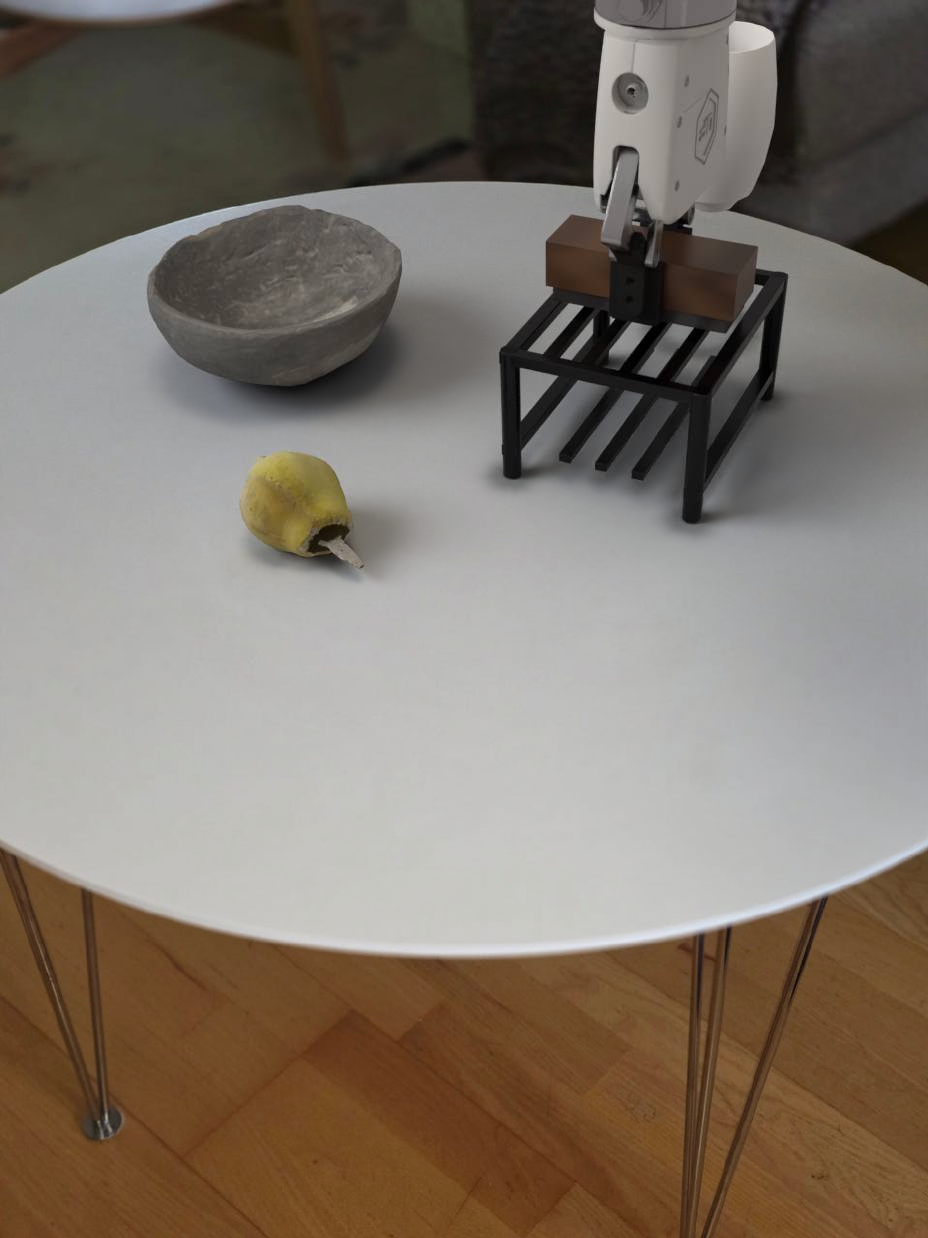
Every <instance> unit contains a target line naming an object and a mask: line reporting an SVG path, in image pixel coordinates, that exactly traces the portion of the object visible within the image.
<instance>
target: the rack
mask: <svg viewBox="0 0 928 1238" xmlns="http://www.w3.org/2000/svg"><path fill="white" fill-rule="evenodd" d="M788 283H789V273H786V272H784V271H778V270H776V271H774V270H768V269H763V268H757V267H756V272H755V282H754V286H761V289H760V291H758V294H757V295H756V296H755V298H754V300H753V301H752V303H751V304H750V306H749V307H748V309H746V311H745V313H744V314H743V315H742V317H741V319H740V320H739V322H738V323H737V325H735V328H734V329H733V330H732V332H731V334H730V335H729V336H728V338H727V340H725V342H724V344H723V345H722V347H721V348H720V350H719V351H718V352H717V354H716V355H714V354H710V355H709V357H708V358H707V360H706V361H705V363H704V364H703V365H702V367H701V369H699V371H698V373H697V374H696V376H695V377H694V379H693V381H691V383H690V384H687V383H682V382H677V380H678V378H679V377H680V375H681V374H682V373H683V371H684V369H686V367H687V365H688V364H689V363H690V361H691V360H692V358H693V357H694V356H695V354H696V352H697V351H698V350H699V348H700V346H701V345H702V344H703V342H704V341H705V340H706V338H707V337H708V335H709V334H710V333H711V331H707V330H702V329H697V328H692V330H691V331H690V332H689V333H688V335H687V337H686V338H685V339H684V340H683V342H682V343H681V345H680V346H679V348H678V347H677V348H676V349H675V351H674V352H673V353H672V355H671V357H669V359H668V361H667V362H666V363H665V365H664V366H663V367H662V369H660V371H659V373H658V374H657V375H656V377H654V376H650V375H649V376H648V375H644V374H639V372H640V371H641V369H643V367H644V366H645V364H646V363H647V362H648V360H649V359H650V358H651V356H652V355H653V353H654V352H655V350H656V347H657V346H658V344H659V343H660V342H661V341H662V339H663V338H664V336H665V335H666V334H667V333H668V331H669V330H670V328H671V327H672V326H673V324H672V323H667V322H662V321H660V322H659V323H658V325H656V326H650V328H649V330H648V331H647V332H646V333H645V335H644V336H643V338H642V339H641V340H640V341H639V343H638V344H637V345H636V346H635V348H634V349H633V350H632V351H631V353H630V354H629V355H628V357H627V358H626V360H624V362H623V363H622V364H621V366H620V367H619V368H618V369H616V368H610V367H607V365H609V363H610V351H611V350H612V348H613V347H614V346H615V344H617V342H618V341H619V339H621V337H622V335H623V334H624V333H625V332H626V331H627V330H628V329H629V327H630V326H631V324H632V323H633V322H628V321H623V320H618V319H614V320H613V321H611V316H610V315H609V311H606V310H601V309H596V308H590V307H585V306H582V307H581V309H580V310H579V311H578V312H577V313H576V315H575V316H574V317H573V318H572V319H571V321H570V322H569V323H568V324H567V325H566V326H565V327H564V328H563V330H562V331H561V332H560V333H559V335H557V337H555V339H554V340H553V341H552V342H551V344H549V346H548V347H547V348H546V349H545V351H544V352H543V353H541V352H535V351H530V348H532V346H534V344H535V343H536V342H537V340H538V339H539V338H540V337H541V336H542V335H543V334H544V333H545V331H546V330H547V329H548V328H549V327H550V325H552V323H554V321H555V320H556V319H557V318H558V317H559V315H560V314H561V313H562V312H563V311H564V310H565V309H566V307H567V306H568V305H570V303H565V302H560V301H555V300H553V292H552V293H551V294H550V295H549V297H548V298H547V299H546V300H545V301H544V302H543V303H542V304H541V305H540V306H539V308H538V309H537V310H535V312H534V313H533V314H532V315H531V316H530V318H529V319H527V321H526V322H525V323H524V324H523V325H522V326H521V327H520V329H519V330H518V331H517V332H516V333H515V334H514V335H513V336H512V337H511V338H510V339H509V341H508V342H507V343H506V344H505V345H503V346H502V347H500V348H499V351H498V363H499V376H500V377H499V378H500V409H501V410H500V411H501V412H500V413H501V456H502V475H503V477H504V478H506V479H509V480H514V479H518V478H520V477H521V476H522V474H523V472H522V471H523V464H522V457H523V456H522V451H523V450H524V449H525V448H526V446H527V445H528V444H529V442H530V441H532V439H533V437H534V436H535V435H536V434H537V433H538V431H539V430H540V429H541V427H542V426H543V425H544V424H545V423H546V421H547V420H548V419H549V417H550V416H551V415H552V414H553V413H554V412H555V410H556V409H557V408H558V406H559V405H560V403H562V401H563V400H564V399H565V398H566V397H567V395H568V393H570V391H571V390H573V388H574V386H575V385H576V384H577V383H578V381H579V382H584V383H588V384H592V385H597V386H602V387H607V390H606V391H605V392H604V393H603V395H602V396H601V398H600V399H599V400H598V402H597V403H596V404H595V405H594V406H593V408H592V409H591V411H590V412H589V413H588V414H587V416H586V417H585V419H584V420H583V421H582V422H581V424H580V425H579V426H578V428H576V430H575V432H574V433H573V434H572V435H571V437H570V438H569V440H568V441H567V442H566V444H564V446H563V448H562V449H561V450H560V451H559V453H558V462H560V463H564V464H570V465H571V464H572V462H573V461H574V460H575V459H576V457H577V456H578V455H579V453H580V452H581V450H582V449H583V448H584V446H585V445H586V443H587V442H588V441H589V439H590V438H591V437H592V435H593V434H594V433H595V432H596V431H597V430H598V427H599V426H600V425H601V423H602V422H603V421H604V420H605V418H606V417H607V415H608V414H609V412H610V411H611V410H612V408H613V407H614V406H615V405H616V403H617V402H618V401H619V400H620V398H621V397H622V395H623V394H624V393H625V391H626V392H630V393H635V394H640V395H642V396H641V398H639V400H638V402H637V403H636V405H635V406H634V407H633V409H632V410H631V411H630V413H629V414H628V416H627V417H626V419H624V421H623V422H622V423H621V425H620V427H619V428H618V429H617V431H616V432H615V434H614V435H613V436H612V438H611V439H610V440H609V442H608V443H607V444H606V446H605V447H604V449H603V450H602V452H601V453H600V455H599V456H598V457H597V458H596V460H595V461H594V470H595V471H599V472H603V473H607V472H608V470H609V469H610V468H611V466H612V465H613V464H614V462H615V461H616V459H617V458H618V457H619V455H620V454H621V452H622V451H623V450H624V448H625V447H626V446H627V444H628V442H629V441H630V439H631V438H632V437H633V435H635V432H636V431H637V430H638V428H640V426H641V424H642V423H643V421H644V420H645V418H646V417H647V416H648V414H649V413H650V411H651V410H652V408H653V407H654V406H655V404H656V403H657V401H658V400H659V399H662V400H667V401H673V402H677V403H676V405H675V406H674V408H673V410H672V411H671V413H670V414H669V415H668V417H667V418H666V420H665V421H664V422H663V425H662V426H661V427H660V429H659V430H658V431H657V433H656V434H655V435H654V437H653V439H652V440H651V441H650V443H649V445H648V446H647V448H646V449H645V450H644V452H643V453H642V455H641V456H640V458H639V459H638V460H637V462H636V463H635V464H634V466H633V468H632V469H631V473H630V474H631V475H630V479H632V480H636V481H638V482H639V481H640V482H644V481H645V479H646V477H648V475H649V473H650V471H651V470H652V468H653V467H654V466H655V464H656V463H657V461H658V460H659V458H660V456H662V454H663V452H664V451H665V449H666V448H667V446H668V445H669V443H670V442H671V441H672V439H673V437H674V436H675V434H676V433H677V431H678V430H679V428H680V427H681V425H682V424H683V423H684V421H685V419H686V417H688V414H689V417H688V429H687V440H686V453H685V465H684V466H685V467H684V480H683V489H682V490H683V492H682V502H681V503H682V504H681V519H682V521H683V522H685V523H687V524H696V523H699V522H700V521H701V520H702V516H703V505H704V504H703V503H704V494H705V492H706V491H707V489H708V487H709V486H710V484H711V482H712V481H713V479H714V478H715V476H716V474H717V473H718V471H719V469H720V467H721V466H722V464H723V463H724V461H725V459H726V458H727V456H728V454H729V453H730V451H731V450H732V447H733V446H734V444H735V443H736V441H737V440H738V438H739V436H740V435H741V432H742V431H743V429H744V428H745V426H746V425H747V424H748V422H749V419H750V418H751V417H752V414H753V413H754V411H755V410H756V407H757V406H758V404H759V403H760V401H762V402H769V401H771V400H773V399H774V395H775V387H776V380H777V372H778V371H777V370H778V363H779V356H780V346H781V340H782V331H783V323H784V314H785V308H786V300H787V299H786V298H787V291H788ZM590 323H592V334H591V336H590V337H589V338H588V339H587V341H585V343H584V344H582V347H580V349H579V350H578V351H577V352H576V354H575V355H574V356H573V358H572V359H568V358H564V357H563V355H564V354H565V353H566V352H567V351H568V349H569V348H570V347H571V346H572V345H573V344H574V342H575V341H576V340H577V338H578V337H579V336H580V335H581V334H582V333H583V331H584V330H585V329H586V328H587V326H588V325H589V324H590ZM762 324H763V326H762V333H761V334H762V335H761V344H760V353H759V361H758V369H757V371H756V372H755V373H754V375H753V376H752V378H751V380H750V382H749V383H748V385H747V386H746V388H745V389H744V391H743V393H742V394H741V396H740V398H739V399H738V400H737V402H736V404H735V406H734V407H733V409H732V410H731V411H730V413H729V415H728V417H727V418H726V420H725V421H724V423H723V425H722V426H721V428H720V429H719V431H718V432H717V434H716V436H715V438H714V439H713V441H712V442H711V444H710V445H709V437H710V436H709V435H710V427H711V415H712V405H713V404H712V403H713V399H714V397H715V396H716V394H717V392H718V390H720V388H721V386H722V385H723V383H724V382H725V380H726V379H727V377H728V376H729V374H730V373H731V371H732V369H734V367H735V365H736V364H737V362H738V360H739V359H740V357H741V356H742V354H743V352H744V351H745V350H746V348H747V347H748V345H749V344H750V342H751V340H752V339H753V337H754V336H755V334H756V333H757V331H758V330H759V328H760V327H761V325H762ZM521 369H523V370H529V371H533V372H538V373H542V374H547V375H552V376H557V377H556V378H555V379H554V380H553V382H552V383H551V384H550V385H549V386H548V388H547V389H546V390H545V391H544V392H543V394H542V395H541V396H540V397H539V398H538V400H537V401H536V402H535V403H534V405H532V407H531V408H530V409H529V411H528V412H527V413H526V414H525V416H524V417H523V418H522V406H521V405H522V403H521V401H522V399H521V398H522V397H521Z"/></svg>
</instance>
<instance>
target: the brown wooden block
mask: <svg viewBox="0 0 928 1238" xmlns="http://www.w3.org/2000/svg"><path fill="white" fill-rule="evenodd" d="M603 223H604V219H601V218H595V217H591V216H590V217H589V216H584V215H578V214H570V215H569V216H568V217H567V218H566V219H565V220H564V221H563V222H562V224H560V225H559V226H558V227H557V229H556V230H554V232H552V233H551V235H550V236H549V237H548V238H547V239H546V240H545V287H550V288H552V293H553V300H555V301H560V302H565V303H569V305H575V306H581V307H584V306H585V307H590V308H596V309H601V310H606V311H609V291H610V260H609V247H607V246H606V245H604V244H602V243H601V232H602V227H603ZM632 228H633V229H634V231H636V232H641V233H642V234H643V235H644V237H645V239H646V241H647V234H648V227H642V226H640V225H636V224H632ZM758 251H759V246H758V245H753V244H747V243H740V242H735V241H729V240H723V239H718V238H712V237H706V236H701V235H694V234H692V235H689V234H683V233H677V232H672V231H666V230H663V233H662V241H661V250H660V257H659V261H662V262H665V274H664V290H663V306H662V319H661V321H662V322H667V323H672V325H678V326H681V327H688V328H692V329H693V328H697V329H702V330H707V331H710V332H712V333H717V334H718V333H719V334H722V335H723V334H724V335H726V334H727V333H728V332H729V331H730V329H731V327H732V326H733V325H734V323H735V322H736V320H737V318H738V317H739V316H740V314H741V313H742V311H743V310H744V308H745V305H746V303H747V302H748V300H749V299H750V298H751V296H752V294H754V290H755V284H754V282H755V272H756V268H757V262H758V253H759V252H758Z"/></svg>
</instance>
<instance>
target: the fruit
mask: <svg viewBox="0 0 928 1238" xmlns="http://www.w3.org/2000/svg"><path fill="white" fill-rule="evenodd" d="M246 478H247V479H246V480H245V483H244V485H243V487H242V490H241V493H240V498H239V510H240V516H241V519H242V521H243V524H244V526H245V527H246V528H247V530H248V531H249V532H250V533H251V534H252V535H253V536H254V537H256V539H257V540H259V541H261V542H262V544H265V545H267V546H269V547H271V548H272V549H275V550H277V551H283V552H286V553H287V552H288V553H294V554H296V555H298V556H300V557H305V558H310V557H315V556H319V555H328V554H331V553H333V554H334V555H335V556H336V557H337V558H339V559H340V560H341V561H343V562H346V563H349V564H350V565H351V566H354V567H356V568H358V569H362V568H364V566H365V564H364V562H363V561H362V560H361V559H360V557H359V556H358V555H357V553H356V552H355V551H354V550H353V549H352V548H351V547H350V546H349V544H347V543H345V541H347V540H348V538H349V536H350V535H351V534H352V533H353V530H354V518H353V515H352V512H351V511H350V509H349V506H348V503H347V500H346V495H345V493H344V490H343V488H342V485H341V482H340V479H339V477H338V475H337V473H336V471H335V470H334V468H332V466H331V465H330V464H329V463H328V462H327V461H324V459H321V458H320V457H317V456H315V455H311V454H308V453H303V452H298V451H286V450H285V451H278V452H274V453H271V454H269V455H267V456H265V455H262V456H261V455H260V456H258V457H256V458H255V460H254V462H253V464H252V465H251V466H250V469H249V471H248V473H247V476H246Z"/></svg>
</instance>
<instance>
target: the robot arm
mask: <svg viewBox="0 0 928 1238" xmlns="http://www.w3.org/2000/svg"><path fill="white" fill-rule="evenodd" d="M593 5H594V6H593V20H594V23H595V24H596V25H597V26H598V27H600V28H601V29H602V30H604V32H603V39H602V40H603V41H602V48H601V49H602V50H601V58H600V67H599V76H598V85H597V86H598V87H597V99H596V110H595V125H594V139H593V140H594V141H593V142H594V143H593V146H594V147H593V167H592V168H593V175H592V177H593V179H592V180H593V181H592V183H593V199H594V204H595V206H596V208H597V210H598V211H599V212H600V213H601V214H604V218H603V220H604V223H603V227H602V232H601V243H602V244H604V245H606V246H607V247H609V260H610V291H609V315H610V318H612V319H614V320H615V319H618V320H623V321H628V322H632V323H633V324H639V325H644V326H648V327H652V326H656V325H658V323H659V322H660V321H661V319H662V306H663V290H664V274H665V262H662V261H659V257H660V250H661V241H662V233H663V230H666V231H672V232H677V233H683V234H689V235H693V227H688V226H692V224H693V221H694V218H695V214H696V213H695V212H696V208H695V201H696V200H697V199H698V198H699V197H700V195H701V194H702V193H703V192H704V190H705V189H706V188H707V187H708V186H709V184H710V183H711V182H712V181H713V179H714V178H715V177H716V175H717V174H718V172H719V171H720V169H721V167H722V165H723V162H724V159H725V150H726V133H727V112H728V87H729V26H730V25H731V24H732V23H733V22H734V21H736V17H737V5H738V0H593ZM638 200H639V201H642V202H644V205H645V207H644V206H637V202H638ZM633 222H635V223H639V226H642V227H648V234H647V241H646V239H645V237H644V235H643V234H642V233H641V232H636V231H634V229H633V228H632V225H633Z"/></svg>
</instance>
